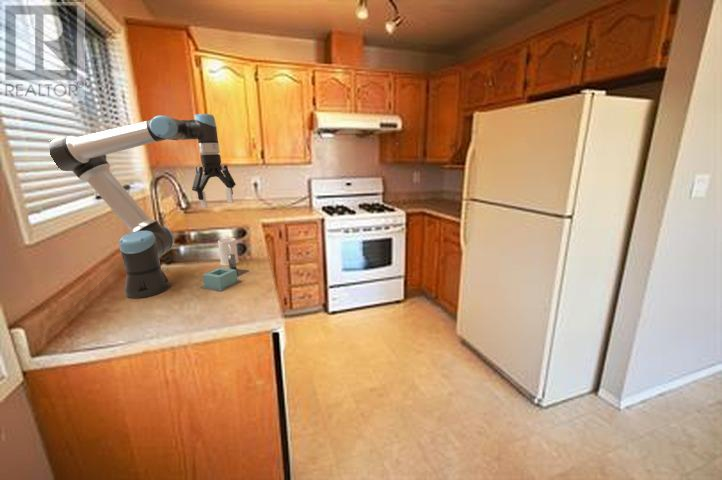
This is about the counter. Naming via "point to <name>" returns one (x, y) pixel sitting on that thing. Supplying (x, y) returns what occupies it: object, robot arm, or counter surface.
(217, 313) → the counter surface
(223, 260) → the mug
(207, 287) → the coaster
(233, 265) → the stand
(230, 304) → the counter surface
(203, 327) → the counter surface
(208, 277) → the teal square frame
